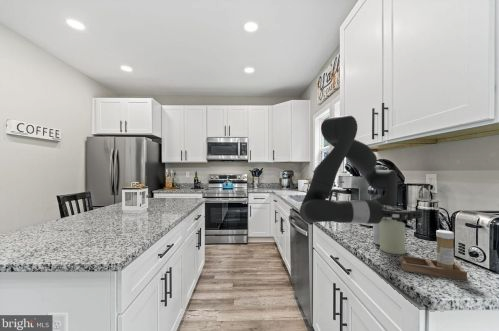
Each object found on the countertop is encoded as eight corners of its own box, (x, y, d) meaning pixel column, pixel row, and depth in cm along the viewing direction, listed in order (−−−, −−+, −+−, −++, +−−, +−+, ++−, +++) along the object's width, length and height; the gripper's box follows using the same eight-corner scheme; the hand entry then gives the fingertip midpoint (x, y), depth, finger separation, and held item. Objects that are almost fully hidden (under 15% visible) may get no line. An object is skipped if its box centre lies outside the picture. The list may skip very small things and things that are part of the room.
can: (392, 246, 107) (392, 218, 107) (411, 253, 98) (410, 223, 98) (374, 247, 105) (374, 219, 105) (391, 255, 96) (391, 224, 96)
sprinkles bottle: (437, 268, 83) (437, 228, 83) (454, 272, 80) (454, 231, 80) (435, 272, 80) (435, 231, 80) (453, 276, 77) (453, 233, 77)
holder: (399, 262, 89) (399, 255, 89) (456, 269, 82) (456, 262, 82) (403, 270, 81) (403, 263, 81) (467, 280, 74) (466, 272, 74)
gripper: (374, 203, 72) (428, 203, 73) (352, 197, 87) (398, 198, 87) (374, 228, 72) (428, 229, 73) (352, 218, 87) (397, 219, 87)
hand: (411, 212), depth 80 cm, fingers open, 8 cm apart
